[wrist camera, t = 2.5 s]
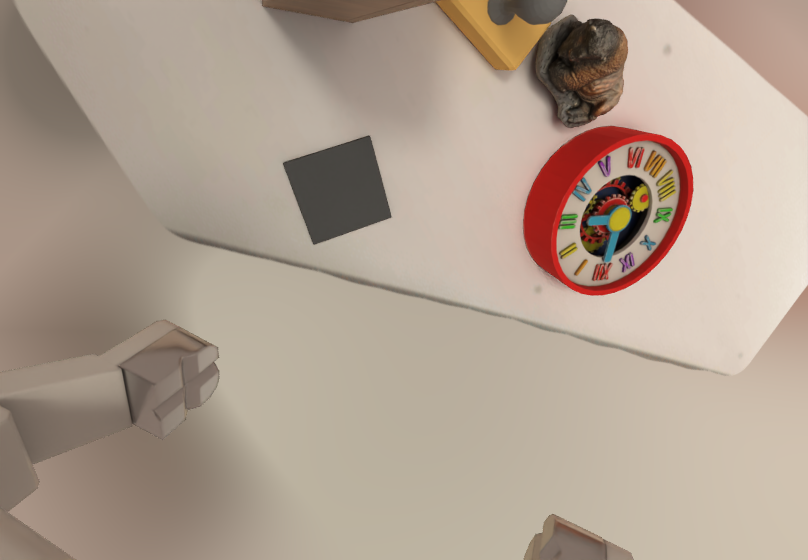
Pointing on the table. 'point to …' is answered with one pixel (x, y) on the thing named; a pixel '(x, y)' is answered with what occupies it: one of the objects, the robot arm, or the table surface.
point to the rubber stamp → (503, 26)
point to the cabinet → (345, 7)
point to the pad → (339, 189)
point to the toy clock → (608, 208)
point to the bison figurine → (582, 67)
